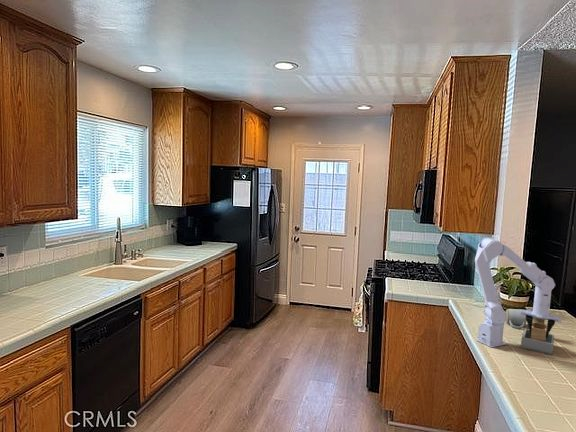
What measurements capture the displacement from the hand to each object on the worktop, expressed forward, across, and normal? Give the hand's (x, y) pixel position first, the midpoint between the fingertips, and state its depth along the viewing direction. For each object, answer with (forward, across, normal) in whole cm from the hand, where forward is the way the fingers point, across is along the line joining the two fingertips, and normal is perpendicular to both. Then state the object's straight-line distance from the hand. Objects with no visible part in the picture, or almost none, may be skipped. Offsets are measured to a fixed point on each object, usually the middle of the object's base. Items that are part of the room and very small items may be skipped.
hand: (538, 335), depth 171 cm
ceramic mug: (+5, -10, +24) cm, 26 cm away
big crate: (+5, 0, 0) cm, 5 cm away
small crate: (+2, 0, 0) cm, 2 cm away
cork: (+5, -1, +14) cm, 15 cm away
